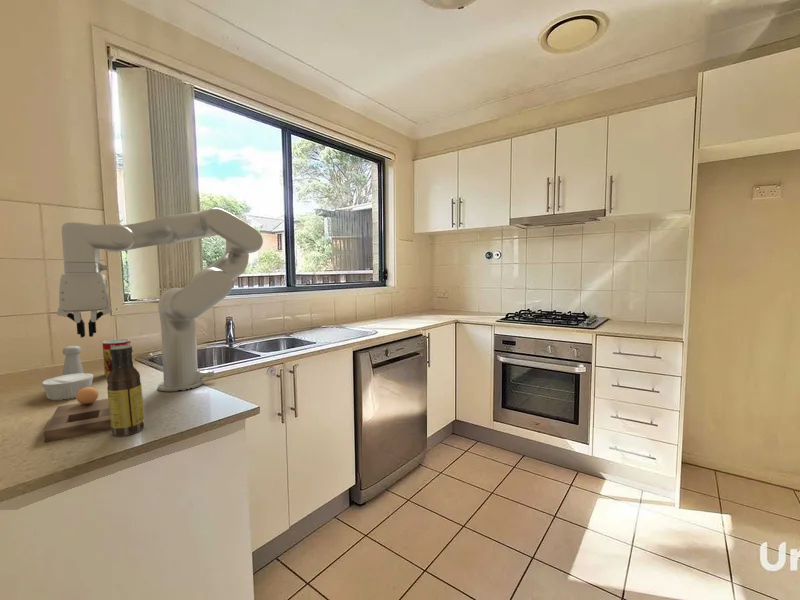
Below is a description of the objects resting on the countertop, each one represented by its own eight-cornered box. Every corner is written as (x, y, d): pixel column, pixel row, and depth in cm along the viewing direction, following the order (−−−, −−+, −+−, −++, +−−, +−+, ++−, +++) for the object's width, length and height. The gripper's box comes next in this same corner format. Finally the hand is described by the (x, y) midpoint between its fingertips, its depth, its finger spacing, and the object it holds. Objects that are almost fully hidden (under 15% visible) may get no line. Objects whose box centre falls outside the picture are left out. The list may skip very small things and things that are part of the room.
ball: (99, 399, 98) (98, 383, 98) (98, 404, 94) (97, 387, 94) (77, 403, 95) (76, 386, 95) (75, 408, 92) (74, 391, 91)
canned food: (117, 377, 127) (116, 343, 126) (98, 376, 128) (96, 342, 127) (137, 371, 134) (135, 339, 133) (119, 370, 136) (117, 338, 135)
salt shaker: (71, 389, 113) (68, 348, 112) (56, 388, 114) (53, 347, 113) (90, 384, 119) (88, 345, 118) (76, 383, 120) (74, 344, 119)
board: (126, 404, 101) (126, 395, 101) (125, 426, 87) (124, 416, 87) (58, 415, 93) (58, 406, 93) (44, 442, 79) (43, 431, 78)
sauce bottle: (141, 423, 89) (137, 342, 87) (147, 431, 84) (143, 346, 83) (107, 431, 84) (102, 346, 82) (113, 440, 80) (107, 350, 78)
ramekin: (33, 403, 102) (31, 385, 101) (58, 391, 112) (57, 374, 112) (81, 400, 105) (80, 382, 104) (101, 388, 115) (100, 371, 115)
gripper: (119, 269, 106) (122, 331, 108) (46, 269, 97) (51, 337, 99) (118, 269, 100) (122, 335, 102) (40, 269, 91) (45, 341, 92)
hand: (87, 336), depth 100 cm, fingers closed
